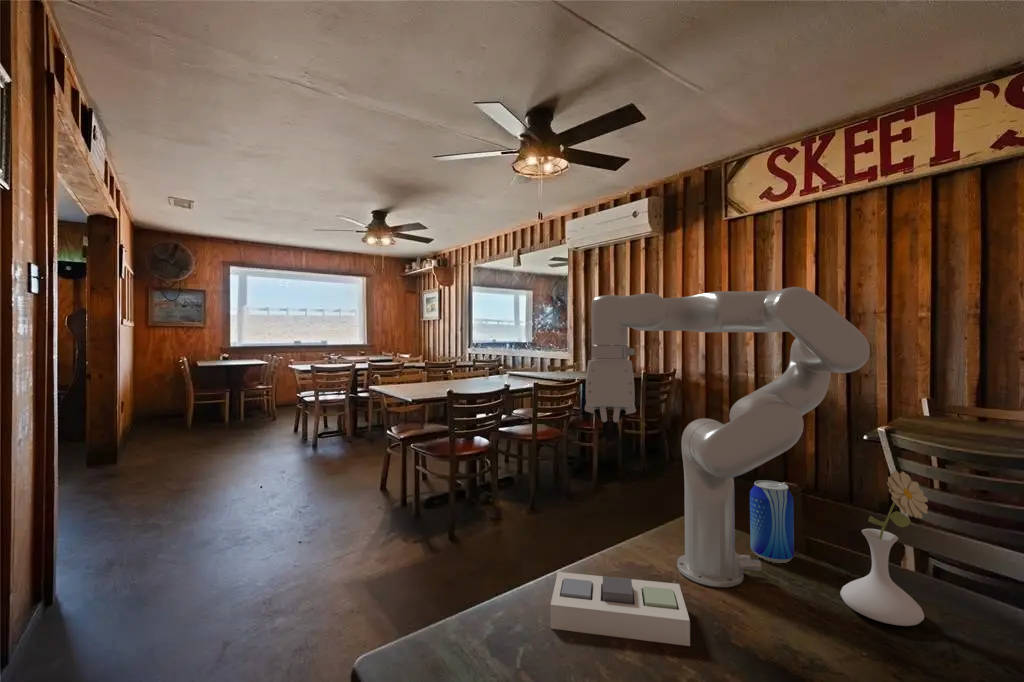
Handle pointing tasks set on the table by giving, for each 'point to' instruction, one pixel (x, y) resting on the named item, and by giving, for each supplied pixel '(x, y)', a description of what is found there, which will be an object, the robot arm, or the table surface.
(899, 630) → the table surface
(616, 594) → the charcoal key
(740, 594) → the table surface
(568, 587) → the slate key
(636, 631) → the keypad
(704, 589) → the table surface
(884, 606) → the flower in vase
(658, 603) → the sage key
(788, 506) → the beer can
